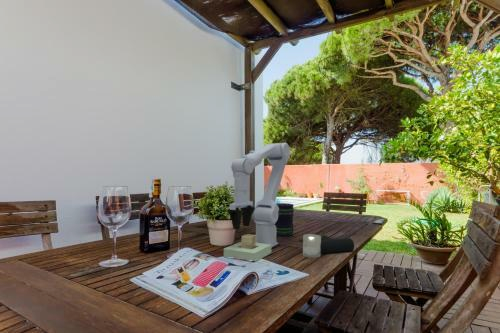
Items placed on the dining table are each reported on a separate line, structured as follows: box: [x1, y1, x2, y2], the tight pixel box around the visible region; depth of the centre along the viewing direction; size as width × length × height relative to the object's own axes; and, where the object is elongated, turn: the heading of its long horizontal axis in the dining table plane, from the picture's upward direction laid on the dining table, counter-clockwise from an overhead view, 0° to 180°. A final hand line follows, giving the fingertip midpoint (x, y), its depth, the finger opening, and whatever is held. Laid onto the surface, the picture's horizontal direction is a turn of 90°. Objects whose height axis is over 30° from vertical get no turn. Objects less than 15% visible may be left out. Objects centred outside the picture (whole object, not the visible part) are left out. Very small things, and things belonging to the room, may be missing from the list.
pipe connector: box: [320, 234, 355, 255], centre depth 118 cm, size 12×5×15 cm
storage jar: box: [274, 202, 295, 239], centre depth 144 cm, size 10×10×15 cm
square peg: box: [240, 233, 257, 249], centre depth 109 cm, size 4×4×7 cm
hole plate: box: [223, 241, 272, 261], centre depth 109 cm, size 14×12×3 cm
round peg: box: [302, 233, 322, 259], centre depth 110 cm, size 6×6×7 cm
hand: (241, 227), depth 111 cm, fingers open, 7 cm apart
